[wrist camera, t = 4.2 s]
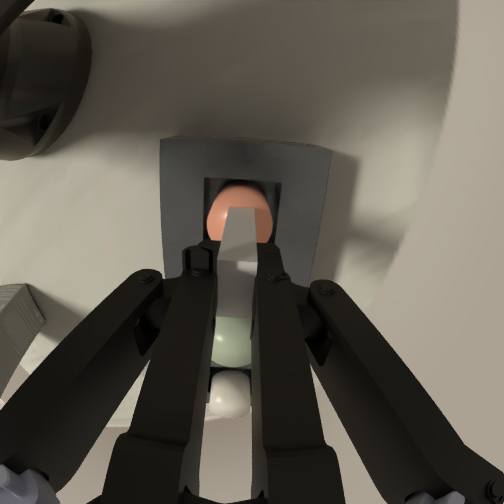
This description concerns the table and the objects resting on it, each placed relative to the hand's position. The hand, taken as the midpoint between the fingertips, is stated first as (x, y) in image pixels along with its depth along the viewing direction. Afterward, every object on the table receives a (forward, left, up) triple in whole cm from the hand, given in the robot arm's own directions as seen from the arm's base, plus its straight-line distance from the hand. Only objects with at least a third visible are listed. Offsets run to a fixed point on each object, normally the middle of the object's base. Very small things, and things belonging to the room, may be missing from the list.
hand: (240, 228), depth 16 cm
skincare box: (-30, -15, -6) cm, 34 cm away
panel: (0, -9, -6) cm, 10 cm away
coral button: (0, 0, -4) cm, 4 cm away
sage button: (0, -9, -2) cm, 9 cm away
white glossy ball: (0, -18, -2) cm, 18 cm away
